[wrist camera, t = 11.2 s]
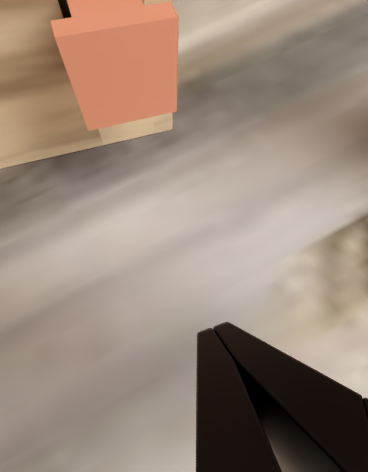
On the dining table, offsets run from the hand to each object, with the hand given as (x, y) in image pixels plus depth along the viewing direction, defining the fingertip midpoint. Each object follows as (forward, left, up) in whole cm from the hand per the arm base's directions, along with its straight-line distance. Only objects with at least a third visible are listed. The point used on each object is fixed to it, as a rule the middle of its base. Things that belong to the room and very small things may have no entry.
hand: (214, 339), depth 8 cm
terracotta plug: (+16, +7, -4) cm, 18 cm away
